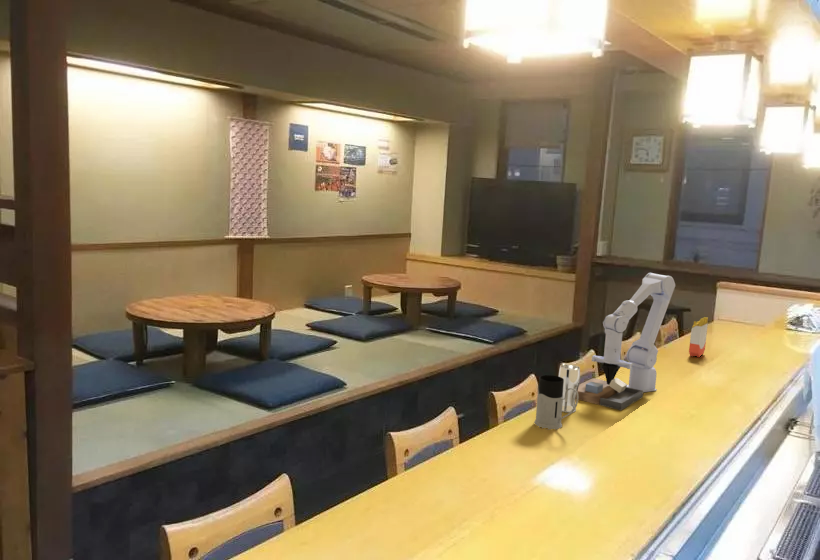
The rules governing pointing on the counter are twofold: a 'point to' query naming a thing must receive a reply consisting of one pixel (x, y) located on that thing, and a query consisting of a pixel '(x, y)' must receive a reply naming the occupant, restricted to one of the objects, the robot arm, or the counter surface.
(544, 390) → the grey black mug
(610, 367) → the robot arm
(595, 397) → the walnut board
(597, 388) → the blue-gray block
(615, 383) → the white tile
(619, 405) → the tray
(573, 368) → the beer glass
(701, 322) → the french fries container
